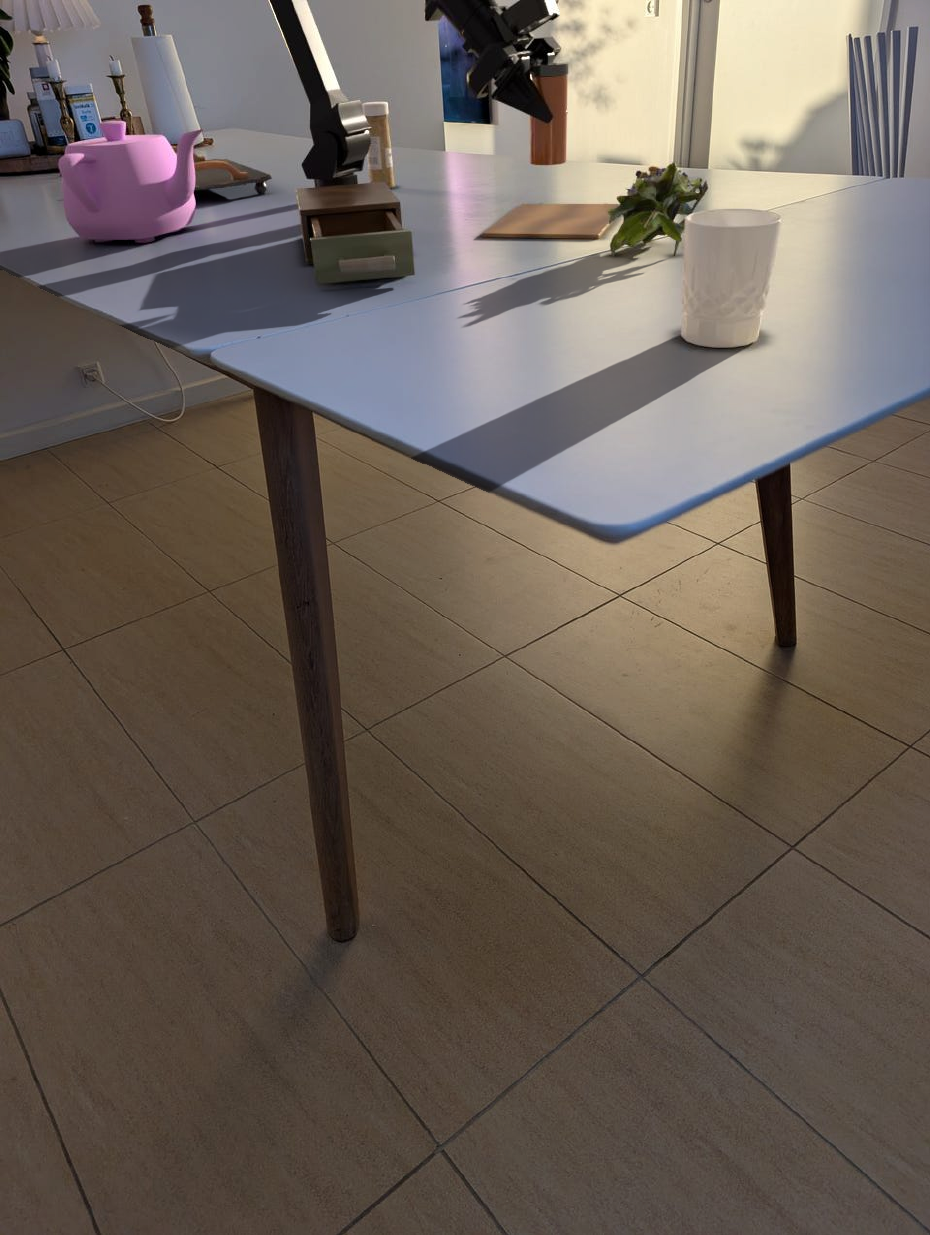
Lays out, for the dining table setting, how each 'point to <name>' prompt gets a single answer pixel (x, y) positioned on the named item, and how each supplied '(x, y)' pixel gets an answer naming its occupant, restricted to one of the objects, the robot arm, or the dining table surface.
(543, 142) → the spice bottle
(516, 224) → the wooden cutting board
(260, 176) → the serving tray
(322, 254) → the drawer
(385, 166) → the sprinkles bottle
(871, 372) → the dining table surface
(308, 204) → the cabinet
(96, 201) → the teapot
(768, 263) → the white cup
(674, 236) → the green leafy plant
